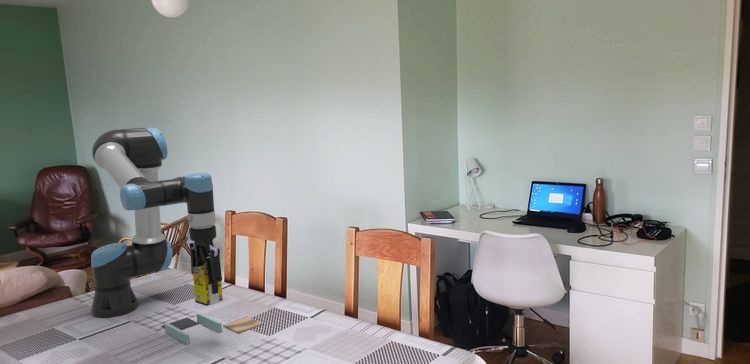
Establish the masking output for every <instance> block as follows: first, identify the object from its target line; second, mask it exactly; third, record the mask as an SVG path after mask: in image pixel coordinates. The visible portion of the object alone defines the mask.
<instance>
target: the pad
mask: <svg viewBox="0 0 750 364" xmlns="http://www.w3.org/2000/svg"><path fill="white" fill-rule="evenodd" d="M263 325H264V324H263V322H261V321H259V320H257V319H254V318H252V317H249V316H245V317H241V318H238V319H236V320H233V321H229V322H227V323H224V324H223V325H222V328H225V329H228V330H229V331H233V332H234V333H236V334H238V335H240V334H241V333H245V332H247V331H250V330H252V329H256V328H257V327H260V326H263Z"/></svg>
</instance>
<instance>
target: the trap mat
mask: <svg viewBox="0 0 750 364" xmlns="http://www.w3.org/2000/svg"><path fill="white" fill-rule="evenodd" d="M168 323H169V324H171V325H173V326H175V327H176V328H178V329H180V330H182V331H184V330H185V329H188V328H192V327H194V326H197V325H199V324H200V323H198V322H197V321H195V320H193V319H191V318H190V317H185V318H184V317H183V318H181V319H179V320H175V321H172V322H168ZM160 326H161V328H163V329H165V324H162V325H160Z"/></svg>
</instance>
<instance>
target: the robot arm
mask: <svg viewBox="0 0 750 364" xmlns="http://www.w3.org/2000/svg"><path fill="white" fill-rule="evenodd" d="M167 145H168V144H167V141H166V139H165V136H164V134H163V133H162V132H161V130H160V129H159V128H157V127H135V128H134V127H133V128H122V129H118V128H117V129H111V130H108V131H105V132H104V133H102V134H101V135H99V136H98V137H97V138H96V139H95V141H94V143H93V145H92V148H91V156H92V158H93V161H94V162H95V163H96V165H97V166H98V167H99V168H100V169H103V170H105V171H106V172H107V173H108V174H109V176H110V177H111V178H112V180H113V181H114V182H115V183H116V184H117V186H118V187H119V188H120V190H119V199H120V202H121V205H122V207H123V209H124V210H126V211H134V226H135V234H134V236H132V238H131V244H129V245H127V244H126V242H116V243H115V242H114V243H110V244H105V245H102V246H100V247H98V248H96V249H94V251H93V252H92V253H91V255H90V257H91V258H90V259H91V263H90V266H91V268H92V269H91V270H92V277H93V285H94V286H93V287H94V295H93V299H92V304H91V315H92V316H93V317H96V318H111V317H117V316H121V315H126V314H129V313H131V312H133V311H134V310H136V309H137V308H139V302H138V298H137V296H136V294H135V292H134V290H133V288H132V286H131V285H132V284H131V279H132V278H136V277H140V276H145V275H150V274H153V273H154V274H155V273H156V274H157V273H159V272H163V271H164V270H165V271H166V270H167V269H169V267H170V266H171V264H172V260H173V248H172V244H171V243H172V242H170V240H169V239H168V238H166V235H165V234H164V233H162V228H161V227H162V226H161V211H160V209H161V208H160V207H165V206H171V205H177V204H186V207H187V221H188V226H189V227H190V228H189V231H188V232H189V240H190V241H192V242H191V243H189V244H188V246H189V251H190V268H191V269H190V270H191V275H192V276H193V267H198V266H201V265H204V264H205V265H206V269H207V271H208V277H209V281H210V282H209V283H208V289H209V301H210V306H213V305H216V304H220V301H219V292H218V282H220V281H221V282H222V281H223V274H222V267H221V259H220V253H221V252H220V251H221V250H220V248H219V247H218V248H215V246H214V245H215V244H214V241H213V240H214V239H216V238H217V227H216V213H215V203H214V200H215V199H214V184H213V180H212V175H211V174H210V173H208V172H194V173H189V174H187V175H185V176H184V175H183V176H177V177H174V178H172V179H164V180H159V173H158V171H159V169H160V168H162V166H163V162H162V161H164V160H166V159H167V158H168V146H167Z"/></svg>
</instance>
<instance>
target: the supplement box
mask: <svg viewBox="0 0 750 364" xmlns="http://www.w3.org/2000/svg"><path fill="white" fill-rule="evenodd" d="M192 278H193V289H194V300H195V301H194V302H195V303H196V304H199V305H202V306H205V307H207V306H208V307H209V305H210V301H209V289H208V283H209V282H210V281H209V277H208V271H207V269H206V265H205V264H204V265H201V266H198V267H193V275H192ZM218 292H219V302H222V301H223V300H224V299H223V298H224V297H223V286H222V281H220V282H218ZM210 306H211V305H210Z"/></svg>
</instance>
